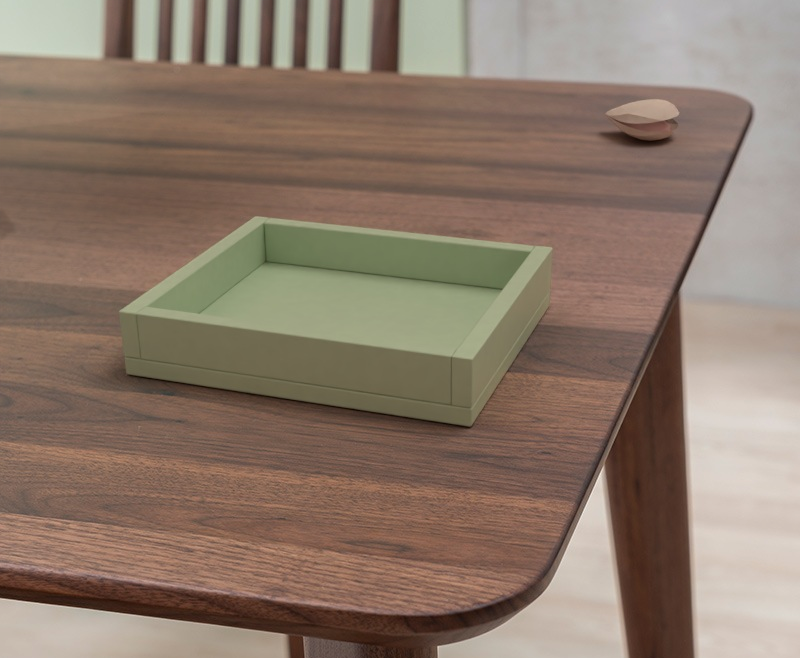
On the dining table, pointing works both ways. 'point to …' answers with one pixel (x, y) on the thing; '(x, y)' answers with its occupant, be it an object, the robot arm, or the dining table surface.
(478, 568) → the dining table surface
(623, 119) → the pistachio shell
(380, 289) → the serving tray
